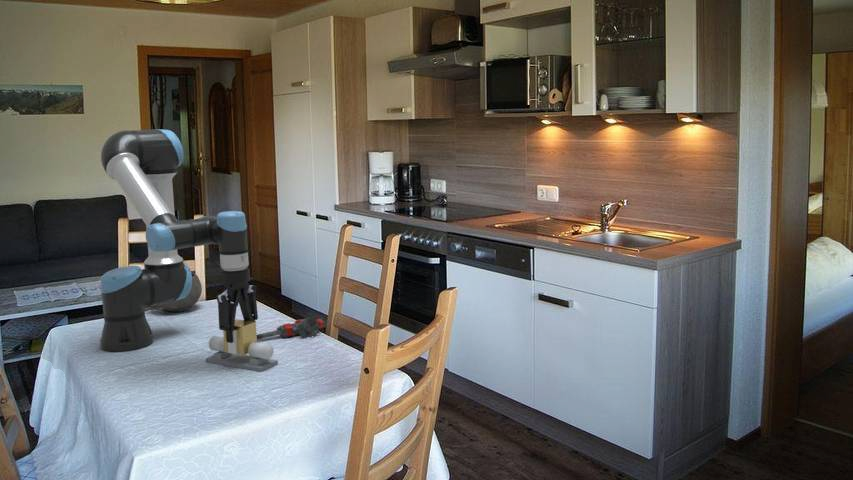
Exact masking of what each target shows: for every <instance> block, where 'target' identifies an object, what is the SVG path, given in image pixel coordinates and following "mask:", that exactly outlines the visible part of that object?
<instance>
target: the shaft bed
mask: <svg viewBox="0 0 853 480" xmlns="http://www.w3.org/2000/svg"><path fill="white" fill-rule="evenodd" d="M208 348H209V349H210V350H212V351H215V352H214V353H213V355H211V356H209V357H206V358H205V362H206V363H211V364H214V365H215V364H216V365H220V366H226V367H233V368H237V369H243V370H249V371H255V372H260V373H262V372H263V371H266V370H268V369H270V368H272V367H274V366H276V365H278V364H279V360H277V359H272V357H273V355H274V346H273V345H271V344H267V343H264V342H257V343H256V342H253V343H251V344H250V345H249V348H248V354H246V355H240V354H232V353H227V352H225V348H224V336H216V335H213V336H211V337H210V339H209V340H208Z"/></svg>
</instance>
